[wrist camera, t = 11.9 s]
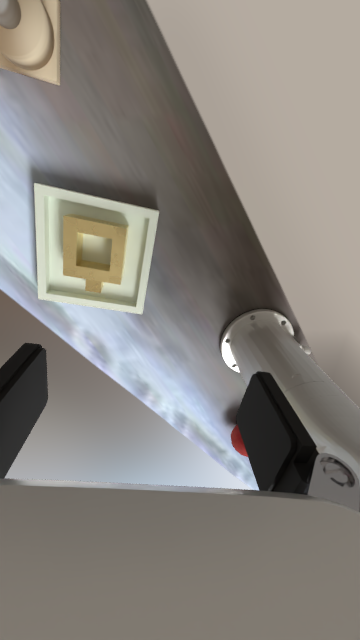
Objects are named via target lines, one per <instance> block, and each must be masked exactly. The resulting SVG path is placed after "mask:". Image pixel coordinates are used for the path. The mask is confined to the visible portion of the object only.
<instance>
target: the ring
mask: <svg viewBox="0 0 360 640" xmlns="http://www.w3.org/2000/svg"><path fill="white" fill-rule="evenodd" d="M128 229H129V226H128V225H124V224H119V223H114V222H109V221H105V220H100V219H95V218H90V217H86V216H81V215H76V214H67V215H63V275H64V276H70V277H76V278H82V279H86V284H85V291H90V292H96V293H101V292H102V290H103V285H104V282H106V283H112V284H118V285H121V282H122V279H123V272H124V263H125V255H126V246H127V237H128ZM83 233H84V234H89V235H94V236H99V237H104V238H109V239H112V250H111V261H110V265H108V264H102V263H97V262H91V261H86V260H82V250H83Z"/></svg>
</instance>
